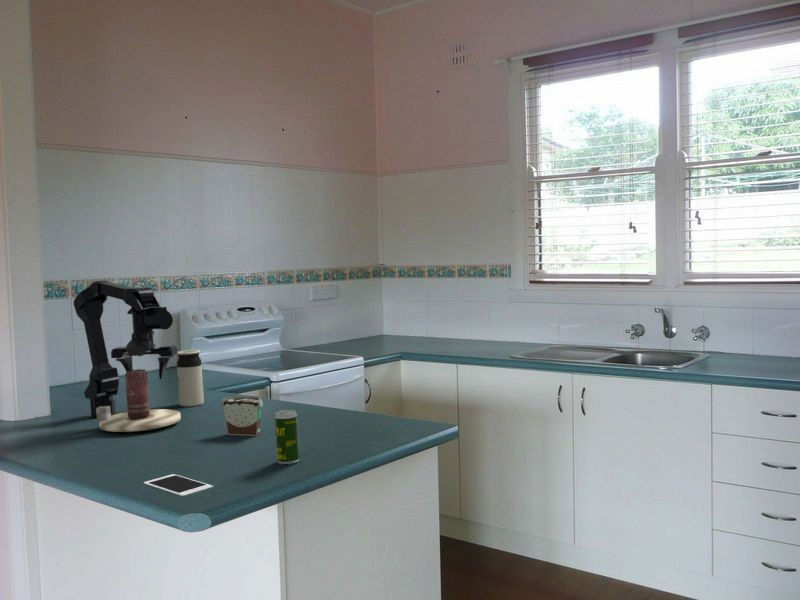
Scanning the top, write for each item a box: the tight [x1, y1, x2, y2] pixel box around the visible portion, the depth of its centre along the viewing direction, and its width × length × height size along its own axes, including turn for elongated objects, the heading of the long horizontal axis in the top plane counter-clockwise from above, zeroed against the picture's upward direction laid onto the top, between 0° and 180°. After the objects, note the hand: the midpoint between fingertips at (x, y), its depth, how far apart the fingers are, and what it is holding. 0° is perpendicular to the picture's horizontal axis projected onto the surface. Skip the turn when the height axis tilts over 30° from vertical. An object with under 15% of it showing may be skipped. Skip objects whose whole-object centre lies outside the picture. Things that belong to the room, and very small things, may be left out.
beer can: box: [274, 409, 300, 465], centre depth 189 cm, size 5×5×12 cm
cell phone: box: [143, 473, 214, 497], centre depth 175 cm, size 8×16×1 cm, turn 48°
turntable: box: [96, 406, 182, 433], centre depth 236 cm, size 24×23×5 cm
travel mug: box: [176, 349, 205, 408], centre depth 266 cm, size 8×8×18 cm
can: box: [124, 368, 150, 419], centre depth 236 cm, size 6×6×14 cm
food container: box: [220, 395, 264, 437], centre depth 222 cm, size 12×6×10 cm, turn 71°
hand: (146, 379), depth 242 cm, fingers open, 9 cm apart
